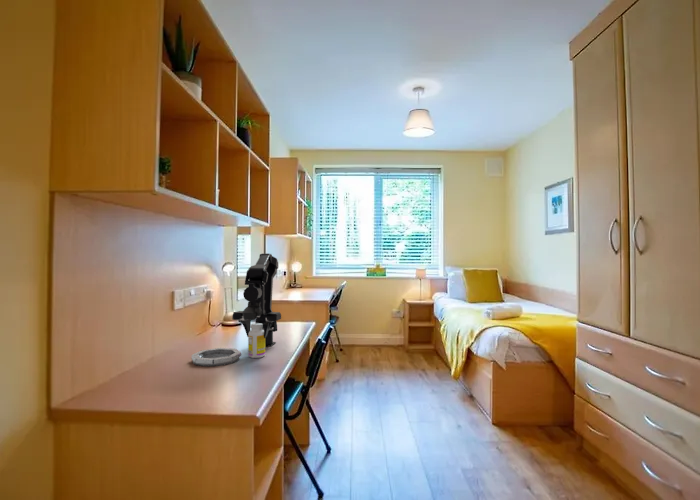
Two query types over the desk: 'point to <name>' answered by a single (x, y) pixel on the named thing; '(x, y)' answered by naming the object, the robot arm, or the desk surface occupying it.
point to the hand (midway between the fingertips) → (256, 337)
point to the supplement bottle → (256, 341)
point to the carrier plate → (216, 357)
